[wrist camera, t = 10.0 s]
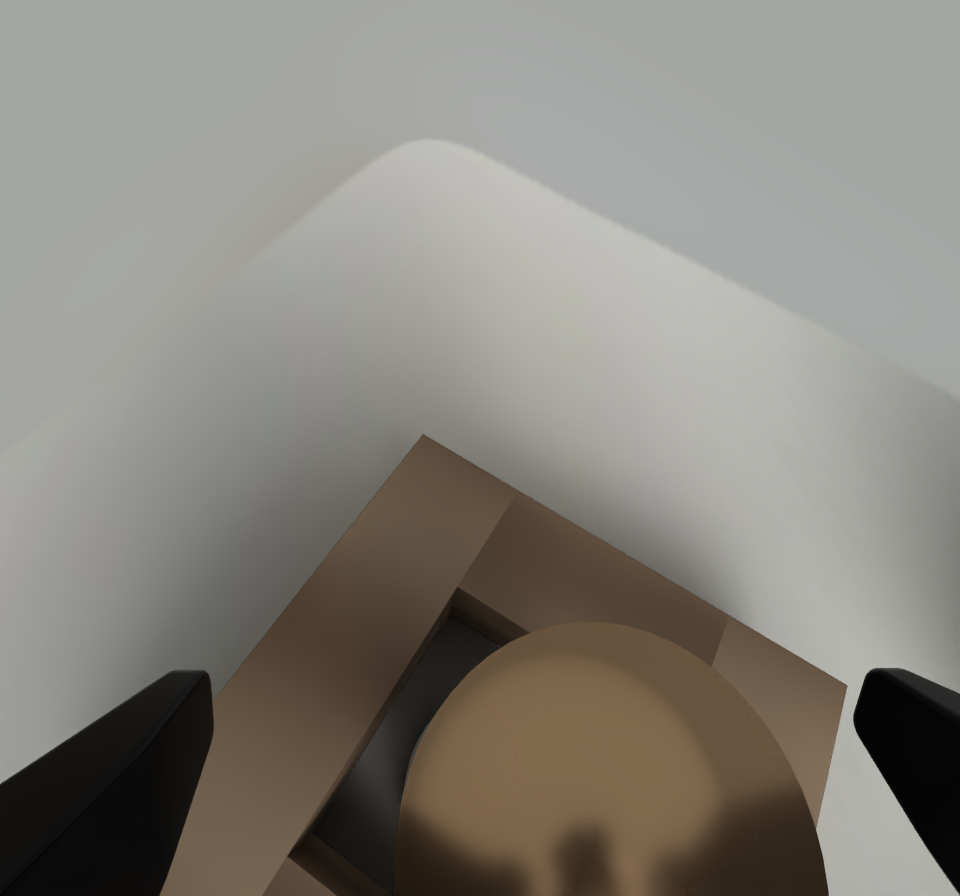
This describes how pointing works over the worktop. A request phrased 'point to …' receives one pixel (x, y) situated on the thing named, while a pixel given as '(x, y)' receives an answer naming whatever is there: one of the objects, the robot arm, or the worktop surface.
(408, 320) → the worktop surface
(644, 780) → the copper lidded tin
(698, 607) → the dock block
